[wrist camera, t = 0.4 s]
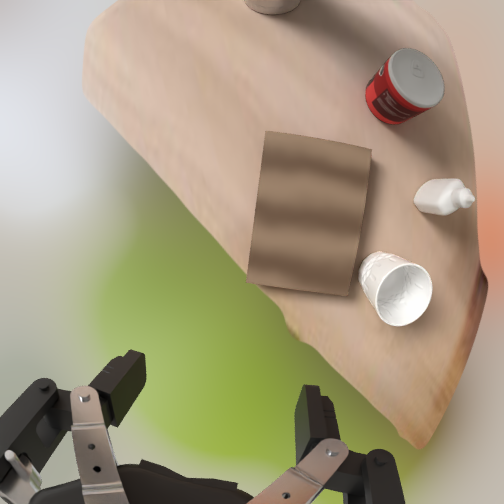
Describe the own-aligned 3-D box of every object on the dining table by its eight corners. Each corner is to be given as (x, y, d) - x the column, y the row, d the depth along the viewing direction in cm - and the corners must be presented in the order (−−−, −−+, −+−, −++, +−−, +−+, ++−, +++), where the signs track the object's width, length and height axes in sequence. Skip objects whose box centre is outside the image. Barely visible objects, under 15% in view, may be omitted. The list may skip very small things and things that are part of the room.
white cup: (345, 262, 39) (365, 284, 29) (390, 237, 38) (422, 251, 28) (365, 306, 40) (387, 337, 31) (407, 282, 39) (438, 305, 29)
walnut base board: (266, 135, 36) (265, 130, 34) (365, 152, 36) (371, 149, 33) (248, 276, 41) (246, 282, 38) (342, 288, 40) (347, 296, 37)
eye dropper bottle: (442, 205, 36) (490, 212, 24) (414, 213, 37) (459, 222, 25) (437, 177, 35) (484, 176, 23) (408, 184, 36) (452, 183, 24)
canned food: (400, 77, 32) (431, 49, 22) (415, 124, 34) (453, 107, 23) (357, 78, 33) (380, 46, 23) (371, 127, 35) (402, 107, 24)
